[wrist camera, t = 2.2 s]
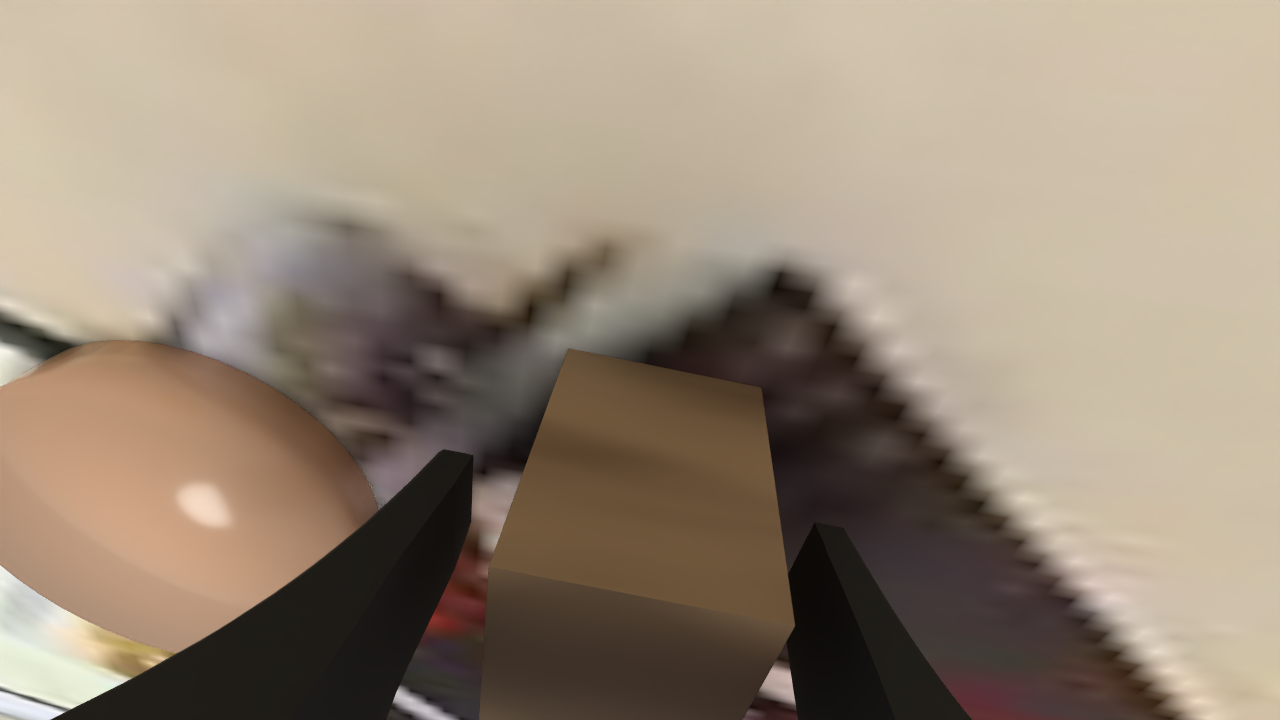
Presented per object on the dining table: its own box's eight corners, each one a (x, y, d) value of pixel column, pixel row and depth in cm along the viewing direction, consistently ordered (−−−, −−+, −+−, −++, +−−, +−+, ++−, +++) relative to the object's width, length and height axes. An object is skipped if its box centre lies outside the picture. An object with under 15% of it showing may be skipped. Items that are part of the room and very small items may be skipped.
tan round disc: (392, 613, 20) (357, 686, 18) (98, 558, 20) (29, 626, 18) (373, 378, 15) (319, 444, 13) (-31, 299, 15) (-154, 352, 12)
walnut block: (712, 518, 16) (716, 764, 11) (549, 486, 16) (478, 720, 11) (761, 386, 14) (794, 626, 9) (568, 347, 14) (489, 566, 8)
